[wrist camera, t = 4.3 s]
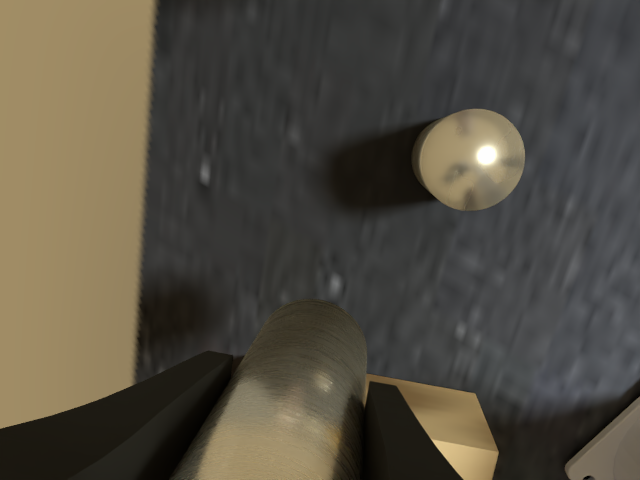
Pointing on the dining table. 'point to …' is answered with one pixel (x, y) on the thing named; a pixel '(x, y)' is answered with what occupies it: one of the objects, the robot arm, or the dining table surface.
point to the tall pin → (289, 403)
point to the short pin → (469, 159)
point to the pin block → (451, 425)
